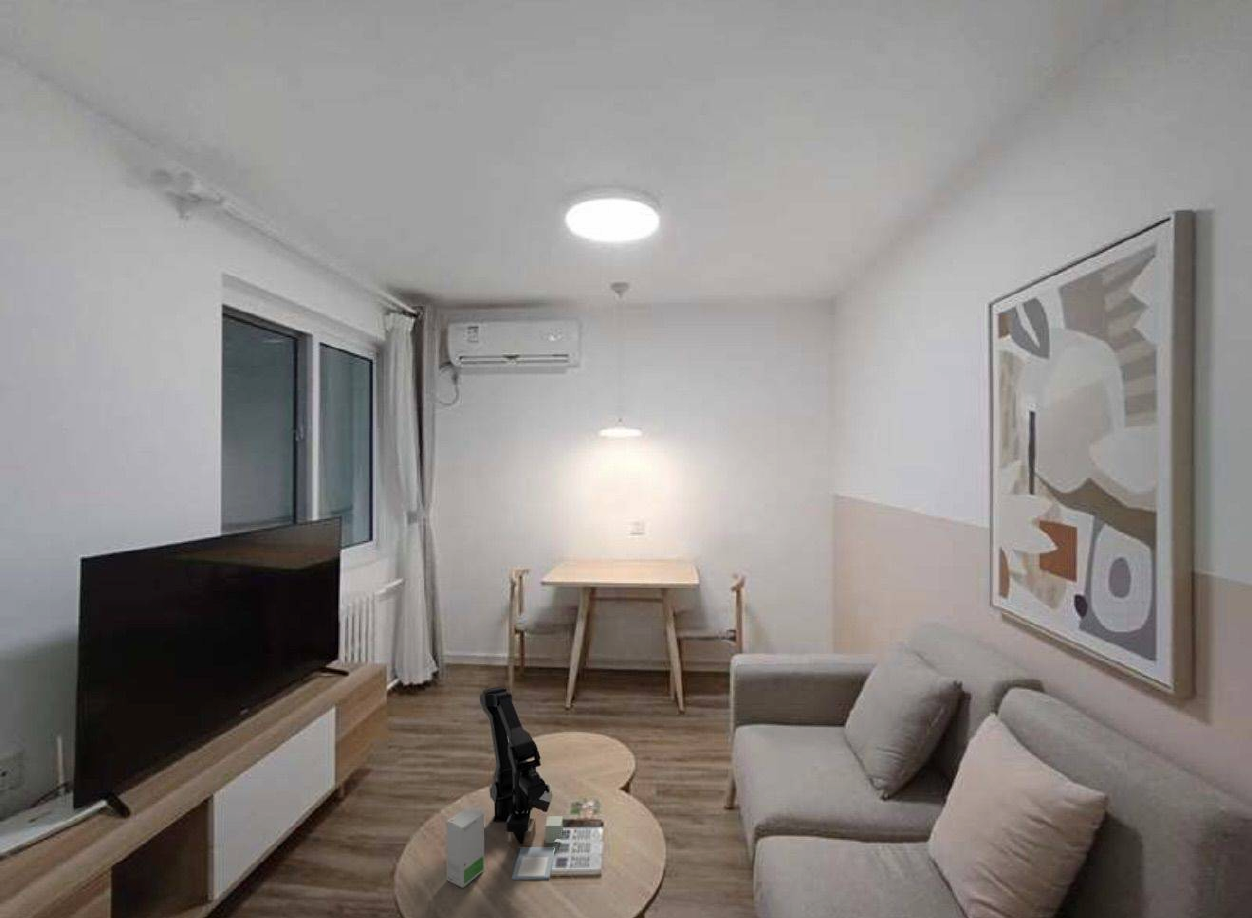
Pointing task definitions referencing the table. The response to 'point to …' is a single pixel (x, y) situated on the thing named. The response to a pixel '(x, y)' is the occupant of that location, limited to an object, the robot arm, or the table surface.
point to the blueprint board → (533, 863)
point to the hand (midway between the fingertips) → (523, 836)
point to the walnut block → (527, 838)
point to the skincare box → (465, 846)
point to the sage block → (553, 828)
